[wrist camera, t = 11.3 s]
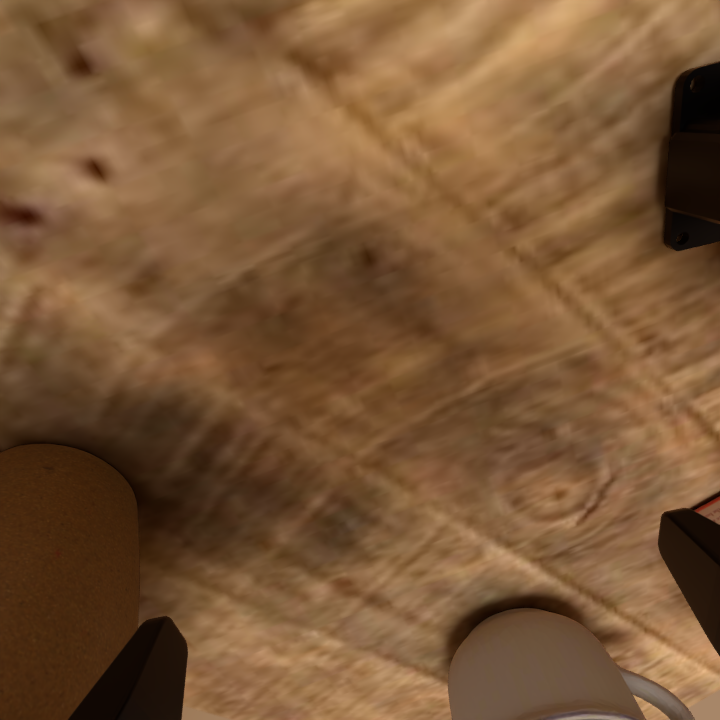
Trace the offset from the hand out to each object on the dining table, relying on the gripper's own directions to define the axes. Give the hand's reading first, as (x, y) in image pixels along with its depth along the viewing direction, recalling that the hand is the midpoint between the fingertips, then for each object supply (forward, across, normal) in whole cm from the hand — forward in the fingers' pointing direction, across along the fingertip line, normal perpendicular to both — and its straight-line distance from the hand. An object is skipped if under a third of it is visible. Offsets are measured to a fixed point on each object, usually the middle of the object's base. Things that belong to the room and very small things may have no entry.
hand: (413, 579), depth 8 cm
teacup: (+13, -6, +26) cm, 30 cm away
